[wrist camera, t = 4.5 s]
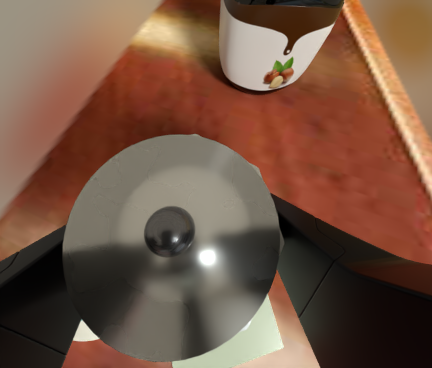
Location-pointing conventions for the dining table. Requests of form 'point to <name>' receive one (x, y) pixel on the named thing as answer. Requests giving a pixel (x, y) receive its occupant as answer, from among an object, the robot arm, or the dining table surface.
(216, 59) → the dining table surface
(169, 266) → the grey metal canister
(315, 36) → the spread jar
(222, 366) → the sage placemat
